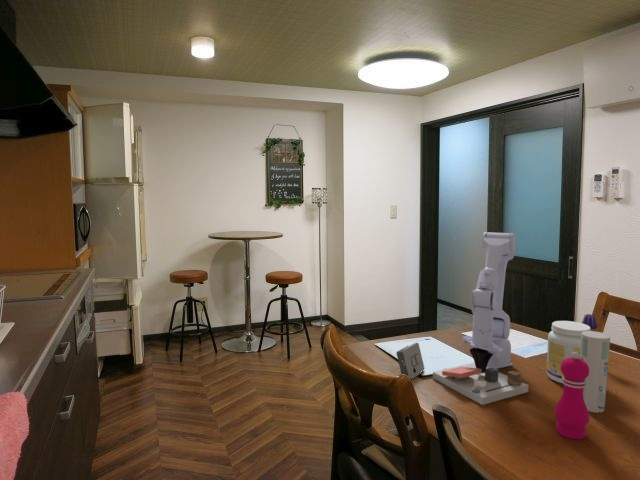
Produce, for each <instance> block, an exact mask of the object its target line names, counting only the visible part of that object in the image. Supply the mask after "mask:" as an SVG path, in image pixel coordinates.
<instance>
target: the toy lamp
mask: <svg viewBox="0 0 640 480" xmlns="http://www.w3.org/2000/svg"><path fill="white" fill-rule="evenodd" d="M581 323H582V324H585V325H588V326H589V327H590V331H593V330H597V329H598V322H597V318H596V316H595V315H594V314H590V313H589V314H584V316H583V319H582V322H581Z"/></svg>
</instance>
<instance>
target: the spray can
mask: <svg viewBox="0 0 640 480" xmlns="http://www.w3.org/2000/svg"><path fill="white" fill-rule="evenodd" d="M610 344H611V336H610V335H608V334H607V333H605V332H600V331H584V332H582V333H581V351H580V359H582V360H583V361H585V362H586V363H587V365H588V367H589V375H588V377H587V378H585V380H586V387H584V389H583V398H584V402H585V405H586V407H587V409H588V413H589V412H590V413H597V414H599V412H600V413H603V412H605V408H606V407H605V406H606V395H607V385H608V383H607V382H608V381H607V380H608V370H609V369H608V368H609V359H610Z"/></svg>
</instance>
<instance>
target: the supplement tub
mask: <svg viewBox="0 0 640 480" xmlns="http://www.w3.org/2000/svg"><path fill="white" fill-rule="evenodd" d="M584 331H590V327H589V326H588V325H585V324H582V322H577V321H571V320H555V321H553V322H552V323H551V331H549V333H548V335H547V351H546V352H547V353H546V354H547V355H546V370H545V371H546V375H547V376H548V378H549V379H551V380H552V381H555V382H556V383H560V384H563V383H562V376H564V375H563V374H562V372H561V370H560V366H561V363H562V361H563V360H564V359H566V358H569V357H571V354H572V353H573V352H577V353H579V355H580V351H581V333H582V332H584ZM579 359H580V357H579Z"/></svg>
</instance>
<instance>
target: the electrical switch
mask: <svg viewBox="0 0 640 480" xmlns="http://www.w3.org/2000/svg"><path fill="white" fill-rule="evenodd" d="M396 357H397V361H398V366H399V370H400V375H401V376H402V374H405V375H407V376H409V377H410V378H411V379H410V380H414V379H415V378H416V377H418V376H419V375H420V374H421V373H420V372H421V371H423V370H424V369H425V364H424V361H423V356H422V352H421V348H420V344H419V343H418V342H413V343H412V344H410V345H407V346H405V347H403V348H401V349H400V350H397V351H396ZM424 371H425V370H424ZM424 371H423V372H424ZM409 377H408V378H409Z"/></svg>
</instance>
